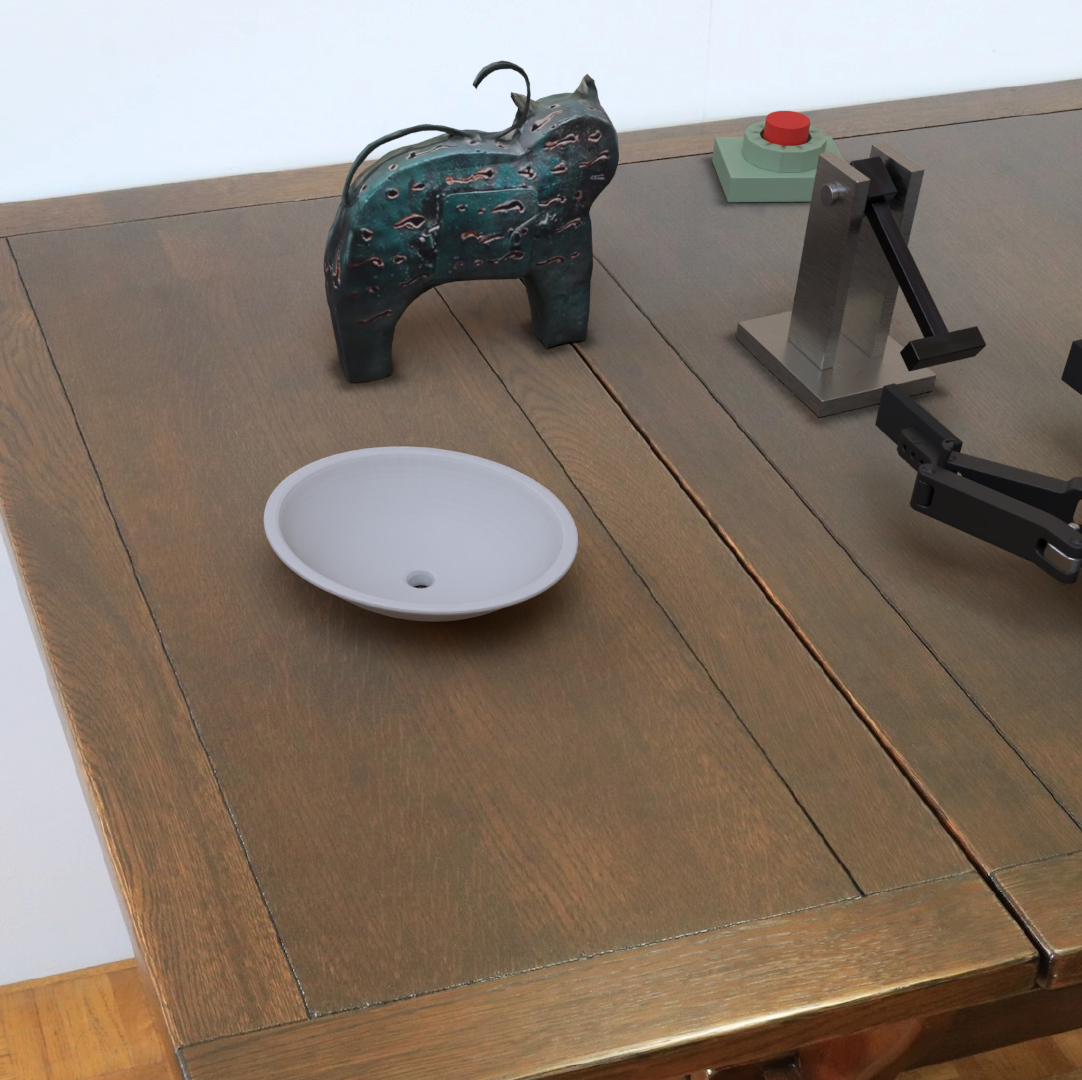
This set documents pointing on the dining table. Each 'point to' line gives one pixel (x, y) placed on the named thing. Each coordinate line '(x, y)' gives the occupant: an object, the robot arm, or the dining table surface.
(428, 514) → the white oval sink basin
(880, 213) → the lever
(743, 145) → the button box
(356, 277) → the ceramic cat
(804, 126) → the button
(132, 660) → the dining table surface
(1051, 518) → the robot arm
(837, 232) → the bracket
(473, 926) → the dining table surface
